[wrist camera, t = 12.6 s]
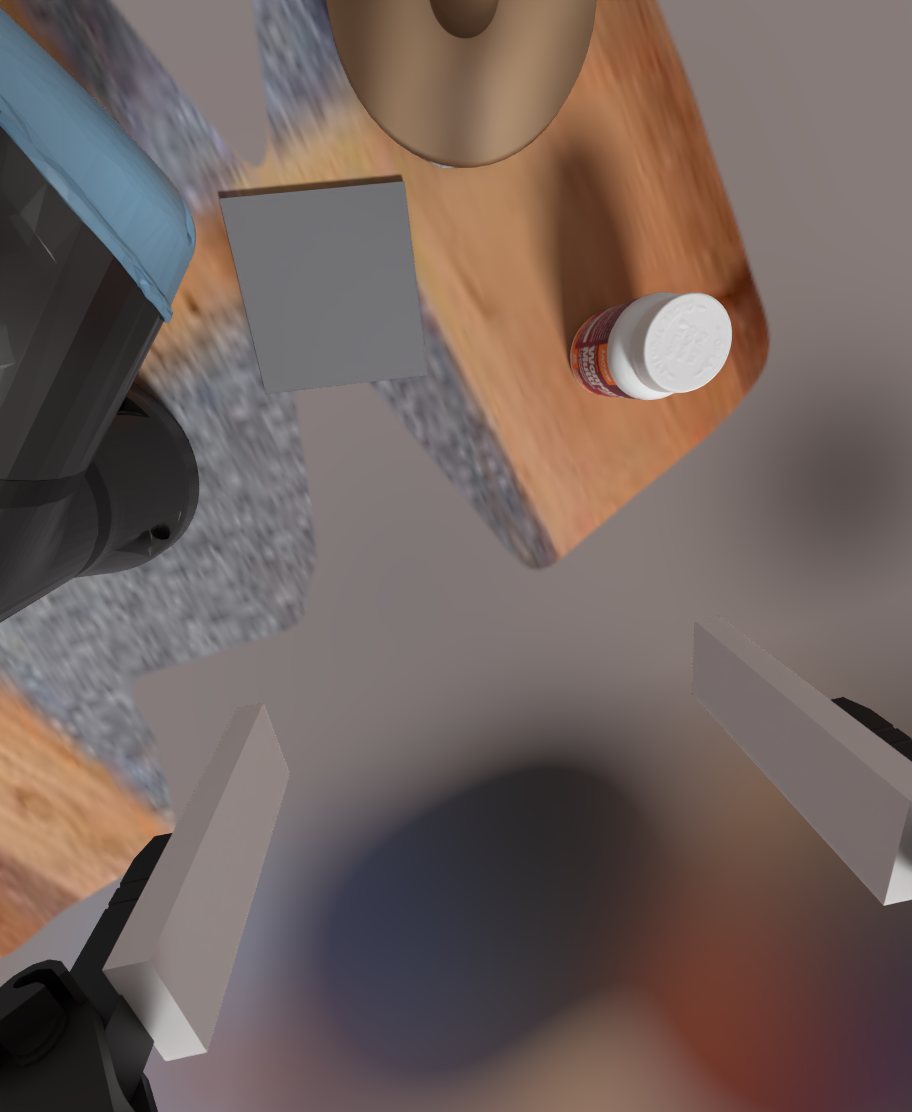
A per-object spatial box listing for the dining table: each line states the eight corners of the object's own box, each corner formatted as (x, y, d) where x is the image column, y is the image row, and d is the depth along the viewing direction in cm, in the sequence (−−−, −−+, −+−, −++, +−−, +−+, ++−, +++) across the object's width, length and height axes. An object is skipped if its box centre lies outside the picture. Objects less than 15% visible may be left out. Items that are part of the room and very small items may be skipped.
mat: (267, 393, 35) (265, 393, 35) (222, 201, 31) (219, 198, 31) (427, 375, 36) (427, 375, 36) (404, 184, 32) (404, 181, 31)
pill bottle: (551, 358, 37) (610, 350, 26) (608, 290, 35) (695, 252, 25) (605, 412, 38) (680, 425, 28) (661, 349, 37) (762, 337, 26)
